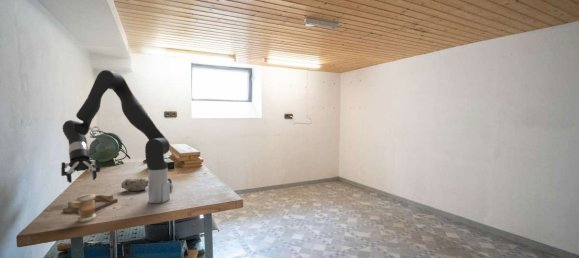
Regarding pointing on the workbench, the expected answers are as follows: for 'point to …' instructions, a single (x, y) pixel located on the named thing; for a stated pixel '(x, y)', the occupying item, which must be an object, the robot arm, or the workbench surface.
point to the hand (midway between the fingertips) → (82, 180)
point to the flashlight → (170, 184)
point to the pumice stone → (134, 184)
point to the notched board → (100, 203)
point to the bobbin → (86, 207)
